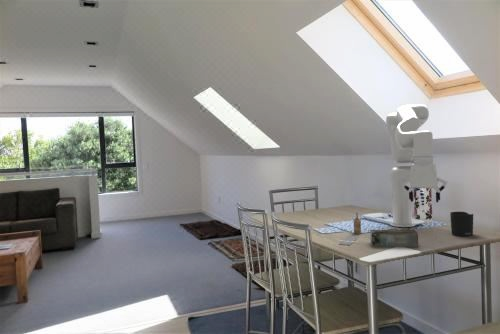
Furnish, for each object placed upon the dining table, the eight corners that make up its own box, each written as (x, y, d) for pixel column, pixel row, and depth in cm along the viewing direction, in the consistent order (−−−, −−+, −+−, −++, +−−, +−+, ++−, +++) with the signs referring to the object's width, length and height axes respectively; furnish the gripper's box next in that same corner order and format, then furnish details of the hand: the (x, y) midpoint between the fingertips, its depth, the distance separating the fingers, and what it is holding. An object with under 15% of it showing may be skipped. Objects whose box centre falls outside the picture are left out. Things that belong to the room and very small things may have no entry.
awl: (355, 232, 192) (354, 211, 192) (361, 232, 190) (361, 211, 190) (353, 233, 189) (352, 212, 189) (360, 234, 188) (359, 212, 187)
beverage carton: (370, 242, 172) (369, 228, 172) (415, 243, 168) (415, 228, 167) (371, 247, 164) (371, 231, 164) (419, 247, 160) (419, 232, 160)
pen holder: (450, 235, 176) (449, 214, 176) (451, 231, 184) (450, 211, 184) (473, 237, 171) (473, 215, 171) (473, 233, 179) (473, 212, 179)
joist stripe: (344, 236, 185) (344, 235, 185) (363, 237, 181) (363, 237, 181) (334, 244, 171) (334, 243, 171) (354, 245, 167) (354, 245, 167)
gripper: (399, 161, 160) (401, 202, 160) (446, 160, 151) (447, 203, 152) (402, 161, 166) (403, 200, 167) (447, 159, 158) (448, 200, 158)
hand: (424, 201), depth 159 cm, fingers open, 9 cm apart
